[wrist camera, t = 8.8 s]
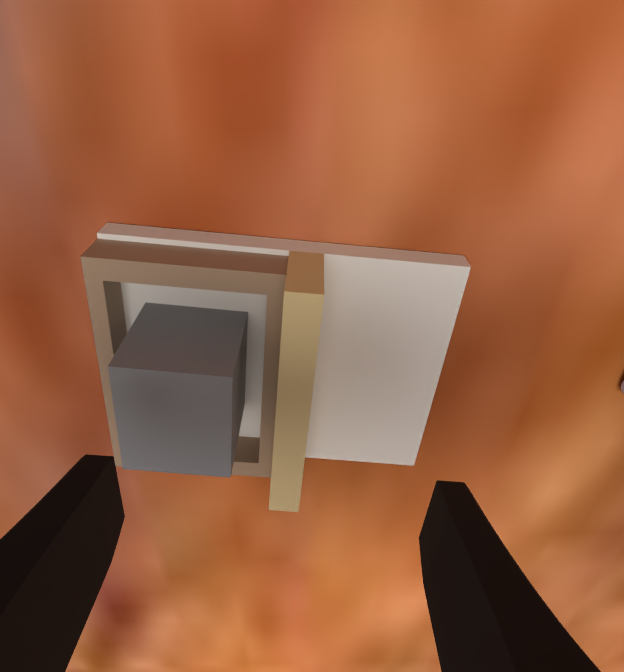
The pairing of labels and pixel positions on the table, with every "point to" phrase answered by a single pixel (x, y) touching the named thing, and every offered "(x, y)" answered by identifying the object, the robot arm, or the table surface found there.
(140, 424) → the gray block
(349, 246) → the door board
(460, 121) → the table surface
